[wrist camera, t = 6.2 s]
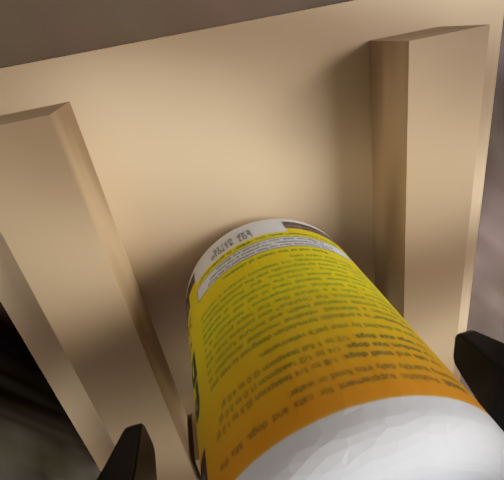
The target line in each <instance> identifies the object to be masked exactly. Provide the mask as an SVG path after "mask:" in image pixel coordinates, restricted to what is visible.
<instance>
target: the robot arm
mask: <svg viewBox="0 0 504 480" xmlns="http://www.w3.org/2000/svg"><path fill="white" fill-rule="evenodd" d="M453 359H454V363H455V365H456V367H457V369H458V370H459V372H460V374H461V375H462V377H463V378H464V380H465V382H466V383H467V385H468V386H469V388H470V389H471V391H472V393H473V394H474V396H475V397H476V399H477V401H478V402H479V404H480V405H481V406H482V407H483V408H484V409H485V411H486V412H487V413H488V414H489V415H490V416H491V418H492V419H493V420H494V421H495V422H496V423H497V425H498V426H499V427H500V428H501V429H502V430H503V432H504V343H502V342H499V341H497V340H495V339H492V338H490V337H488V336H486V335H483V334H481V333H479V332H476V331H473V330H469V331H465V332H462V333H459V334H457V335H456V337H455V344H454V354H453ZM97 480H157V472H156V458H155V449H154V445H153V443H152V440H151V438H150V436H149V434H148V432H147V429H146V427H145V426H144V424H142V423H139V424H136V425H132V426H129V427H127V428H125V429H124V431H123V432H122V434H121V436H120V438H119V440H118V442H117V444H116V445H115V447H114V449H113V451H112V453H111V455H110V457H109V458H108V460H107V462H106V464H105V466H104V468H103V470H102V471H101V473H100V475H99V477H98V479H97Z"/></svg>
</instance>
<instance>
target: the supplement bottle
mask: <svg viewBox="0 0 504 480" xmlns="http://www.w3.org/2000/svg"><path fill="white" fill-rule="evenodd" d="M186 316H187V328H188V339H189V350H190V361H191V373H192V385H193V394H194V406H195V416H196V427H197V437H198V448H199V459H200V471H201V480H504V432H503V430H502V429H501V428H500V427H499V426H498V425H497V423H496V422H495V421H494V420H493V419H492V418H491V416H490V415H489V414H488V413H487V412H486V411H485V409H484V408H483V407H482V406H481V405H480V404H479V403H478V401H477V400H476V399H475V398H474V397H473V396H472V395H471V393H470V392H469V391H468V390H467V389H466V388H465V387H464V386H463V385H462V384H461V382H460V381H459V380H458V379H457V378H456V377H455V376H454V375H453V374H452V372H451V371H450V370H449V369H448V368H447V367H446V366H445V365H444V364H443V362H442V361H441V360H440V359H439V358H438V357H437V356H436V354H435V353H434V352H433V351H432V350H431V349H430V348H429V346H428V345H427V344H426V343H425V342H424V341H423V340H422V339H421V338H420V337H419V336H418V334H417V333H416V332H415V331H414V330H413V329H412V328H411V326H410V325H409V324H408V323H407V322H406V321H405V320H404V318H403V317H402V316H401V315H400V314H399V313H398V312H397V310H396V309H395V308H394V307H393V306H392V305H391V304H390V302H389V301H388V300H387V299H386V298H385V297H384V296H383V294H382V293H381V292H380V291H379V290H378V289H377V288H376V287H375V286H374V284H373V283H372V282H371V281H370V280H369V279H368V278H367V277H366V276H365V275H364V273H363V272H362V271H361V270H360V269H359V268H358V267H357V265H356V264H355V263H354V262H353V261H352V260H351V259H350V258H349V256H348V255H347V254H346V253H345V252H344V251H343V250H342V249H341V247H340V246H339V245H338V244H337V243H336V242H335V241H334V240H333V239H332V238H331V237H329V236H328V235H327V234H326V233H324V232H323V231H321V230H319V229H318V228H316V227H314V226H312V225H309V224H307V223H304V222H300V221H296V220H291V219H283V218H275V219H264V220H259V221H255V222H251V223H248V224H245V225H243V226H240V227H238V228H236V229H234V230H232V231H230V232H229V233H227V234H226V235H224V236H223V237H221V238H220V239H219V240H217V241H216V242H215V243H214V244H213V245H212V246H211V247H210V248H209V249H208V250H207V251H206V252H205V253H204V254H203V256H202V257H201V259H200V260H199V261H198V263H197V265H196V266H195V268H194V270H193V273H192V275H191V277H190V280H189V284H188V288H187V294H186Z"/></svg>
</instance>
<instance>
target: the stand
mask: <svg viewBox="0 0 504 480" xmlns="http://www.w3.org/2000/svg"><path fill="white" fill-rule="evenodd" d="M503 17H504V0H354V1H349V2H344V3H339V4H334V5H328V6H323V7H318V8H313V9H308V10H302V11H297V12H292V13H287V14H282V15H276V16H271V17H266V18H261V19H256V20H250V21H245V22H240V23H235V24H230V25H224V26H219V27H214V28H209V29H204V30H198V31H193V32H188V33H183V34H178V35H172V36H167V37H162V38H157V39H152V40H146V41H141V42H136V43H131V44H126V45H120V46H115V47H110V48H105V49H100V50H94V51H89V52H84V53H79V54H74V55H68V56H63V57H58V58H53V59H48V60H42V61H37V62H32V63H27V64H22V65H16V66H11V67H6V68H1V69H0V302H1V303H2V305H3V307H4V308H5V310H6V312H7V313H8V315H9V317H10V318H11V320H12V322H13V324H14V325H15V327H16V329H17V330H18V332H19V334H20V335H21V337H22V339H23V340H24V342H25V344H26V346H27V347H28V349H29V351H30V352H31V354H32V356H33V357H34V359H35V361H36V362H37V364H38V366H39V368H40V369H41V371H42V373H43V374H44V376H45V378H46V379H47V381H48V383H49V385H50V386H51V388H52V390H53V391H54V393H55V395H56V396H57V398H58V400H59V401H60V403H61V405H62V407H63V408H64V410H65V412H66V413H67V415H68V417H69V418H70V420H71V422H72V423H73V425H74V427H75V429H76V430H77V432H78V434H79V435H80V437H81V439H82V440H83V442H84V444H85V445H86V447H87V449H88V451H89V452H90V454H91V456H92V457H93V459H94V461H95V462H96V464H97V466H98V467H99V469H100V471H102V470H103V468H104V466H105V464H106V462H107V460H108V458H109V457H110V455H111V453H112V451H113V449H114V447H115V445H116V444H117V442H118V440H119V438H120V436H121V434H122V432H123V431H124V429H125V428H127V427H129V426H132V425H136V424H139V423H142V424H144V426H145V427H146V429H147V432H148V434H149V436H150V438H151V440H152V443H153V445H154V449H155V458H156V472H157V480H201V471H200V459H199V448H198V437H197V427H196V416H195V406H194V394H193V385H192V373H191V361H190V350H189V339H188V328H187V316H186V294H187V288H188V284H189V280H190V277H191V275H192V273H193V270H194V268H195V266H196V265H197V263H198V261H199V260H200V259H201V257H202V256H203V254H204V253H205V252H206V251H207V250H208V249H209V248H210V247H211V246H212V245H213V244H214V243H215V242H216V241H217V240H219V239H220V238H221V237H223V236H224V235H226V234H227V233H229V232H230V231H232V230H234V229H236V228H238V227H240V226H243V225H245V224H248V223H251V222H255V221H259V220H264V219H275V218H283V219H291V220H296V221H300V222H304V223H307V224H309V225H312V226H314V227H316V228H318V229H319V230H321V231H323V232H324V233H326V234H327V235H328V236H329V237H331V238H332V239H333V240H334V241H335V242H336V243H337V244H338V245H339V246H340V247H341V249H342V250H343V251H344V252H345V253H346V254H347V255H348V256H349V258H350V259H351V260H352V261H353V262H354V263H355V264H356V265H357V267H358V268H359V269H360V270H361V271H362V272H363V273H364V275H365V276H366V277H367V278H368V279H369V280H370V281H371V282H372V283H373V284H374V286H375V287H376V288H377V289H378V290H379V291H380V292H381V293H382V294H383V296H384V297H385V298H386V299H387V300H388V301H389V302H390V304H391V305H392V306H393V307H394V308H395V309H396V310H397V312H398V313H399V314H400V315H401V316H402V317H403V318H404V320H405V321H406V322H407V323H408V324H409V325H410V326H411V328H412V329H413V330H414V331H415V332H416V333H417V334H418V336H419V337H420V338H421V339H422V340H423V341H424V342H425V343H426V344H427V345H428V346H429V348H430V349H431V350H432V351H433V352H434V353H435V354H436V356H437V357H438V358H439V359H440V360H441V361H442V362H443V364H444V365H445V366H446V367H447V368H448V369H449V370H450V371H451V372H452V374H453V375H454V376H455V377H456V378H457V379H458V380H459V381H460V380H461V374H460V372H459V370H458V369H457V367H456V365H455V363H454V359H453V354H454V344H455V337H456V335H457V334H459V333H462V332H465V331H466V329H467V321H468V312H469V304H470V295H471V287H472V279H473V270H474V262H475V253H476V245H477V236H478V228H479V219H480V211H481V203H482V194H483V186H484V177H485V169H486V160H487V152H488V143H489V135H490V127H491V118H492V110H493V101H494V93H495V84H496V76H497V67H498V59H499V50H500V42H501V34H502V25H503Z"/></svg>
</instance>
